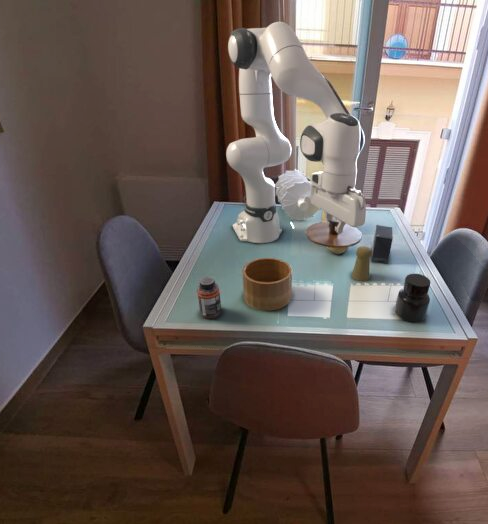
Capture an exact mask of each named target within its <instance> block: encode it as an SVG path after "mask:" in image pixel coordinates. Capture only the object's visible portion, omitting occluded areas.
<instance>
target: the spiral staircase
mask: <svg viewBox="0 0 488 524" xmlns="http://www.w3.org/2000/svg"><path fill="white" fill-rule="evenodd" d="M277 178H278V180H277V181H276V183H274V185H275V197H277V201H278V202H279V204H280V206H281V209H282V210H283V211H284V215H288V217H290V218H291V220H293V221H295V220H298V221H305V220H307V219H311V218H314V216H315V215H316V214H317V213H318V212H319V211H320V210H321V209H320V208H318V207H316V206H314V205H312V204H311V201H310V186H311V183H312V181H311V180H308V178H307V176H306V174H305V172H304V171H302V172H300V171H299V170H298V169H297V168H295V169H294V170H285V173H283V174H280V175H278V177H277Z"/></svg>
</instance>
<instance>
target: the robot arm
mask: <svg viewBox="0 0 488 524" xmlns="http://www.w3.org/2000/svg"><path fill="white" fill-rule="evenodd" d="M227 41H228V42H227V52H228V57H229V60H230V62H231V63H232V64H233V66H234V67H235V68H238V70H239V71H238V93H239V95H238V96H239V106H240V116H241V119H242V121H243V122H244V123H246V124H247V125H248V126H251V127H252V129H253V130H254V133H255V136H253V137H245V138H239V139H237V140H235V141H232V142H230V143H229V144H228V146H227V148H226V150H225V151H226V152H225V157H226V162H227V163H228V165H229V167H230V168H231V169H233V170H234V171H235V172H237V174H239V176H240V177H241V178H242V180H243V183H244V188H245V195H244V196H243V198H242V201H243V203H244V210H242V211H241V212H240V213H238V214H237V219H236V220H235V223H233V224H232V228H233V231H234V232H235V234H236V236H237V237H238V239H239V241H240V242H248V243H253V244H269V243H272V242H274V241H276V240H278V239H279V238H280V234H281V233H282V231H283V230H282V228H281V227H280V217H279V214H278V212H277V203H276V187H275V183H274V181H273V180H272V179H271V178H270V177H267V176H265V174H264V169H265V168H270V167H276V166H279V165H282V164H284V163H287V162H288V161H289V160H290V158H291V155H292V145H291V143H290V141H289V139H288V138H287V137H286V136H284V135H283V133H282V132H281V131H280V129H279V127H278V125H277V122H276V120H275V114H274V103H273V101H274V100H273V87H272V86H273V85H272V80H273V82H274V84H275V85H276V86H277V87H278V89H279V90H280V91H281V92H283V93H284V94H286V95H289V96H291V97H295V98H299V99H303V100H306V101H309V102H311V103H313V104H315V105H316V106H318V107H319V108H320V110H321V111H322V112H323V114H324V116H325V118H326V119H325V120H323V121H320V122H316V123H313V124H310V125H307V126H306V127H305V128H304V129H303V131H302V132H301V135H300V140H299V144H300V145H299V147H300V148H299V149H300V152H301V153H302V156H304V157H305V159H306V160H308V161H309V162H313V163H319V162H320V163H322V171H318V172H313V173H311V174H310V181H311V182H312V183H311V186H310V201H311V204H312V205H314V206H316V207H318V208H319V209H320V210H322V212H323V211H324V216H325V219H326V226H327V227H328V228H330V219H331V218H332V216H334V217H335V218H337V219H338V222H339V224H338V226H335V232H337V233H338V234H339V233H342V232H343V227H344V226H345V224H348V225H350V226H351V227H355V228H359V227H362V226H364V224H365V223H366V217H367V216H366V215H367V203H366V197H365V196H364V194H363V191H361V190H359V189H356V181H357V173H358V168H357V161H358V158H359V155H360V154H361V152H362V151H363V148H364V145H365V141H366V139H365V133H364V130H363V128H362V126H361V124H360V121H359V119H358V118H357V117H355V116H354V115H351V114H350V112H349V110H348V108H347V107H346V105H345V104H344V102H343V100H342V98H340V96H339V94H338V92H337V91H336V89H335V87H334V86H333V85H332V83H331V82H330V80H329V79H328V78H327V76H325V75H324V74H323V73H321V72H320V70H319V69H318V68H317V67H316V66H315V65H314V63H313V62H312V61H311V60H310V57H309V56H308V55H307V53H306V51H305V48H304V46H303V44H302V42H301V40H300V39H299V37H298V35H297V34H296V33H295V31H294V29H292V27H291V26H290V25H289V24H288V23H286V22H283V21H276V22H273V23H270V24H269V25H268V26H266V27H251V28H246V27H240V28H236V29H234V30H232V31H231V33H230V35H229V37H228V40H227ZM290 225H291V227H292V229H295V226H294V224H293V222H292V221H290Z"/></svg>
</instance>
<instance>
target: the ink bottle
mask: <svg viewBox="0 0 488 524" xmlns="http://www.w3.org/2000/svg"><path fill="white" fill-rule="evenodd" d="M431 283H432V282H431V280H430V278H429V277H428V276H425V275H424V274H421V273H413V272H412V273H409V274H407V275H406V276H405V278H404V283H403V287H402V288H401V289H400V290H399V291H398V293H397V297H396V302H395V306H394V312H395V314H396V315H397V316H398V318H400V319H401V320H403V321H404V322H409V323H420V322H422V321H424V320H425V319H426V316H427V313H428V309H429V306H430V302H431V299H430V295H429V292H430V291H429V290H430V287H431Z"/></svg>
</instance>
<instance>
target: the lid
mask: <svg viewBox="0 0 488 524" xmlns="http://www.w3.org/2000/svg"><path fill="white" fill-rule="evenodd" d="M338 224H339V222H338V219H337V218H331V219H330V228H328V227H327V226H326V222H322V221H320V222H316V223H313V224H311V225H309V226H307V227H306V231H305V236H306V238H307V239H308V240H309V241H310V242H312V243H314V244H316V245H318V246H321V247H324V248H325V247H326V248H328V247H332V248H344V247H348V248H350V247H353V246H356V245H357V244H359V243H360V242H361V241H362V239H363V234H362V232H361V230H360V229H358V227H351V226H350V225H348V224H345V226H344V227H343V232H342V233H339V234H338V233H337V232H335V226H338Z"/></svg>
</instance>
